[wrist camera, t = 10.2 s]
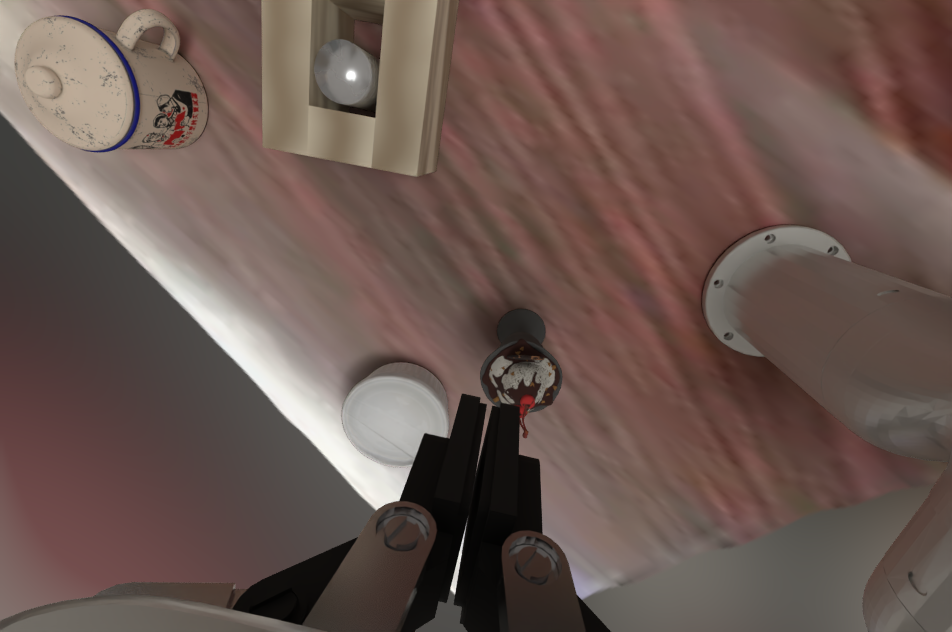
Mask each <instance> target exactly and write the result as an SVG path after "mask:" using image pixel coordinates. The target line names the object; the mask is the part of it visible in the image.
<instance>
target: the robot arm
mask: <svg viewBox="0 0 952 632" xmlns="http://www.w3.org/2000/svg"><path fill="white" fill-rule="evenodd" d="M766 236H768V237H767V239H765V237H766ZM828 249H829V250H828ZM716 280H717V282H716V283H715V284H714V282H715V281H716ZM702 308H703V313H704V318H705V320H706V322H707V324H708V326H709V328H710V329H711V331H712V332H713V333H714V334H715V336H716V337H717V338H718V339H719V340H720V341H721V342H722V343H724V344H725V345H727V346H728V347H730V348H731V349H733V350H735V351H738V352H740V353H743V354H746V355H751V356H756V357H766V358H767V359H768V360H769V361H771V362H772V363H773V364H774V365H775V366H776V367H777V368H779V369H780V370H781V371H782V372H783V373H784V374H786V375H787V376H788V377H789V378H790V379H791V380H792V381H794V382H795V383H796V384H797V385H798V386H799V387H801V388H802V389H803V390H804V391H805V392H806V393H807V394H809V395H810V396H811V397H812V398H813V399H814V400H816V401H817V402H818V403H819V404H820V405H821V406H823V407H824V408H825V409H826V410H827V411H828V412H829V413H831V414H832V415H833V416H834V417H835V418H836V419H838V420H839V421H840V422H842V423H843V424H844V425H845V426H846V427H847V428H848V429H850V430H851V431H852V432H853V433H855V434H856V435H858V436H859V437H860V438H862V439H864V440H865V441H867V442H869V443H871V444H873V445H875V446H877V447H879V448H881V449H884V450H887V451H890V452H892V453H895V454H899V455H902V456H907V457H912V458H917V459H923V460H931V461H942V462H948V465H947V467H946V469H945V470H944V472H943V473H942V475H941V476H940V478H939V479H938V481H937V482H936V484H935V485H934V486H933V488H932V489H931V491H930V494H929V496H928V498H927V499H926V500H925V501H924V503H923V504H922V505H921V507H920V508H919V509H918V511H917V512H916V513H915V515H914V516H913V517H912V519H911V520H910V521H909V523H908V524H907V525H906V527H905V528H904V529H903V531H902V532H901V533H900V535H899V536H898V537H897V539H896V540H895V541H894V543H893V544H892V546H891V547H890V548H889V549H888V551H887V552H886V553H885V556H884V557H883V558H882V560H881V561H880V562H879V564H878V565H877V567H876V568H875V570H874V572H873V573H872V575H871V576H870V578H869V580H868V582H867V584H866V587H865V590H864V594H863V603H862V604H863V605H862V607H863V616H864V620H865V624H866V627H867V630H868V632H952V297H950V296H947V295H944V294H941V293H938V292H936V291H933V290H930V289H927V288H924V287H921V286H918V285H916V284H913V283H910V282H907V281H904V280H901V279H898V278H895V277H893V276H890V275H887V274H884V273H881V272H878V271H875V270H873V269H870V268H867V267H864V266H861V265H858V264H855V263H852V262H851V259H850V256H849V255H848V253H847V252H846V250H845V249H844V247H843V246H842V245H841V244H840V243H839V242H838V241H837V240H835V239H834V238H833V237H831V236H830V235H828V234H826V233H824V232H822V231H819V230H816V229H813V228H810V227H805V226H799V225H779V226H773V227H767V228H765V229H762V230H759V231H756V232H753V233H751V234H749V235H748V236H746V237H744V238H742V239H740V240H739V241H737V242H736V243H735V244H733V245H732V246H731V247H730V248H728V249H727V250H726V251H725V252H724V253H723V254H722V256H721V257H720V258H719V259H718V260H717V261H716V263H715V264H714V266H713V267H712V269H711V270H710V273H709V275H708V277H707V279H706V282H705V285H704V290H703V294H702ZM725 333H726V334H725ZM486 406H487V404H483V403H480V397H475V396H471V395H467V394H462V395H461V399H460V403H459V407H458V410H457V414H456V418H455V421H454V425H453V429H452V433H451V436H450V439H449V438H445V437H440V436H436V435H432V434H427V433H424V435H423V438H422V440H421V443H420V446H419V449H418V451H417V454H416V457H415V460H414V462H413V465H412V468H411V471H410V473H409V476H408V479H407V482H406V484H405V487H404V490H403V493H402V495H401V498H400V501H396V502H392V503H389V504H386V505H384V506H382V507H381V508H379V509H378V510H377V511H376V512H375V513H374V514H373V515H372V517H371V518H370V520H369V521H368V523H367V525H366V526H365V528H364V529H363V531H362V532H361V534H360V535H359V537H357V538H355V539H353V540H351V541H348V542H346V543H344V544H341V545H339V546H337V547H335V548H332V549H330V550H328V551H326V552H324V553H321V554H319V555H317V556H314V557H312V558H310V559H308V560H306V561H303V562H301V563H299V564H296V565H294V566H292V567H290V568H287V569H285V570H283V571H280V572H278V573H276V574H274V575H272V576H269V577H267V578H265V579H263V580H261V581H259V582H257V583H256V584H254V585H252V586H251V587H250V588H249V589H235V583H157V582H156V583H153V582H141V583H140V582H132V583H125V584H118V585H115V586H113V587H110V588H108V589H106V590H103V591H101V592H99V593H98V594H96V595H95V596H93V597H88V598H81V599H74V600H66V601H61V602H57V603H52V604H47V605H44V606H40V607H36V608H33V609H29V610H26V611H23V612H20V613H18V614H15V615H13V616H10V617H8V618H5V619H3V620H1V621H0V632H415V631H416V629H418V628H419V627H421V626H422V625H424V624H425V623H427V622H429V621H430V620H432V619H433V618H435V614H436V610H437V605H438V601H440V602H444V603H446V602H447V599H448V595H449V591H450V587H451V583H452V579H453V575H454V571H455V567H456V563H457V559H458V555H459V551H460V547H461V542H462V538H463V534H464V530H465V526H466V522H467V526H466V532H465V538H464V544H463V550H462V556H461V562H460V569H459V575H458V581H457V587H456V593H455V599H454V605H457V606H461V607H462V611H461V619H460V623H461V624H463V625H464V627H465V628H466V630H467V631H468V632H610V630H609V629H608V628H607V627H606V626H605V625H604V624H603V623H602V621H601V620H600V619H599V618H598V617H597V616H596V615H595V614H594V613H593V612H592V611H591V610H590V609H589V608H588V606H587V605H586V604H585V603H584V602H583V601H582V600H581V599H580V598H579V597H578V595H577V594H576V590H575V587H574V583H573V579H572V575H571V571H570V567H569V563H568V561H567V558H566V556H565V553H564V552H563V551H562V549H561V548H560V547H559V546H558V544H556V543H555V542H554V541H553V540H552V539H550V538H549V537H547V536H545V535H543V534H542V508H541V482H540V462H539V459H535V458H531V457H527V456H522V455H519V425H520V407H519V406H515V405H510V404H506V403H502V402H501V404H500V407H496V406H492V410H491V414H490V418H489V422H488V426H487V430H486V434H485V438H484V443H483V447H482V451H481V455H480V459H479V463H478V467H477V462H478V456H479V450H480V444H481V437H482V431H483V425H484V419H485V413H486ZM476 469H477V471H476ZM475 475H476V476H475ZM467 518H468V519H467Z"/></svg>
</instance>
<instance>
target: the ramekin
mask: <svg viewBox="0 0 952 632" xmlns="http://www.w3.org/2000/svg"><path fill="white" fill-rule="evenodd" d="M342 424H343V428H344V431H345V433H346V435H347V437H348V439H349V440H350V442H351V443H352V444H353V446H354V447H355V448H356V449H357V450H358V451H359V452H361V453H362V454H363V455H364V456H366V457H367V458H369V459H371V460H373V461H375V462H377V463H380V464H382V465H386V466H390V467H399V468H406V467H412V465H413V462H414V460H415V457H416V454H417V451H418V449H419V446H420V443H421V440H422V438H423V435H424V433H427V434H432V435H436V436H440V437H445V438H447V435H448V431H449V415H448V400H447V395H446V392H445V390H444V388H443V386H442V384H441V383H440V381H439V380H438V379H437V378H436V377H435V376H434V375H433V374H432V373H430V372H429V371H428V370H426V369H424V368H423V367H420V366H418V365H415V364H412V363H403V362H399V363H390V364H387V365H384V366H382V367H379V368H378V369H376V370H375V371H373V372H372V373H371V374H370V375H369V376H368V377H367V378H365V379H363V380H361V381H360V382H359V383H357V384H356V385H355V386H354V387H353V388H352V390H351V391H350V392H349V394H348V395H347V397H346V399H345V401H344V403H343V407H342Z"/></svg>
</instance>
